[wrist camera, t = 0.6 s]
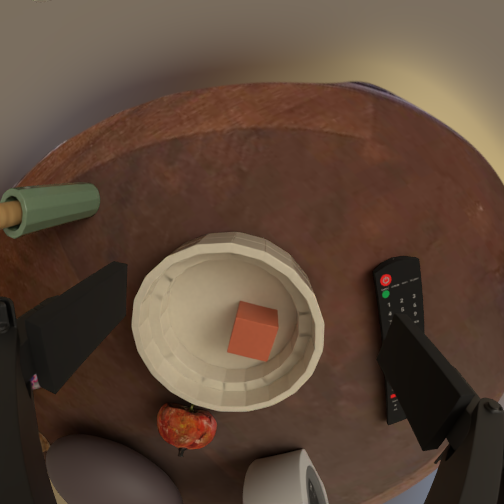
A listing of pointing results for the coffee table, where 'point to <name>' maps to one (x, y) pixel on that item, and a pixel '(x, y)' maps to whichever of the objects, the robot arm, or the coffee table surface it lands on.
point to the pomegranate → (185, 426)
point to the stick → (10, 214)
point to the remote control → (398, 308)
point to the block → (253, 331)
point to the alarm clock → (283, 481)
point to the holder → (51, 206)
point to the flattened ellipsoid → (106, 473)
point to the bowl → (226, 322)
